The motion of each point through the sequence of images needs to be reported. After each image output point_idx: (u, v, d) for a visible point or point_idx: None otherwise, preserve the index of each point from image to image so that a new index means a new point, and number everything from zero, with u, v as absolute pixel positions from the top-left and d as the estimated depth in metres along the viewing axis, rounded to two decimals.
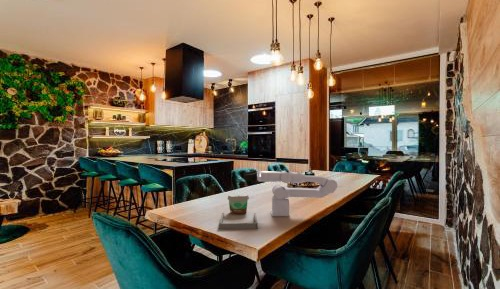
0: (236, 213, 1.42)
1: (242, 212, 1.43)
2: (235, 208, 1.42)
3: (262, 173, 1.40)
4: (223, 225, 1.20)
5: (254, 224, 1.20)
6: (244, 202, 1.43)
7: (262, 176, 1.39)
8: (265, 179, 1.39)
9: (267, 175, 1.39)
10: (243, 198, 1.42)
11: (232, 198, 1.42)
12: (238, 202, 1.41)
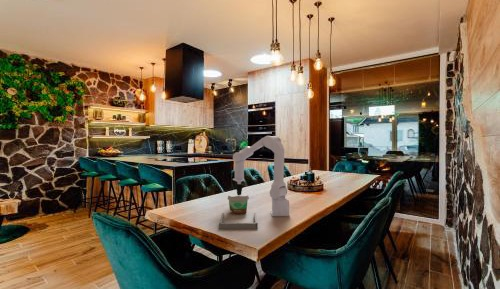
0: (236, 213, 1.42)
1: (242, 212, 1.43)
2: (235, 208, 1.42)
3: (236, 177, 1.56)
4: (223, 225, 1.20)
5: (254, 224, 1.20)
6: (244, 202, 1.43)
7: (238, 177, 1.55)
8: (241, 175, 1.56)
9: (237, 173, 1.56)
10: (243, 198, 1.42)
11: (232, 198, 1.42)
12: (238, 202, 1.41)
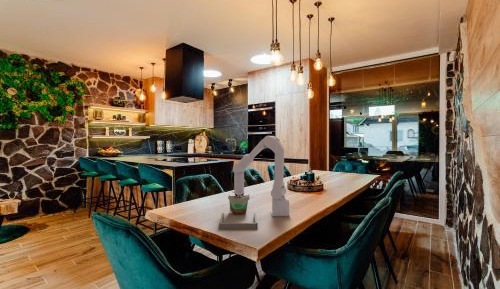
0: (236, 213, 1.42)
1: (242, 212, 1.42)
2: (235, 208, 1.41)
3: (235, 190, 1.49)
4: (223, 225, 1.20)
5: (254, 224, 1.20)
6: (245, 203, 1.41)
7: (238, 190, 1.48)
8: (241, 187, 1.49)
9: (237, 185, 1.48)
10: (244, 200, 1.40)
11: (233, 199, 1.39)
12: (239, 203, 1.40)
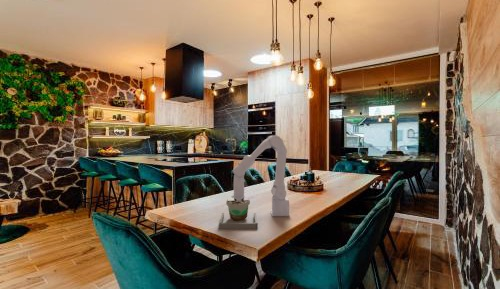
0: (235, 219, 1.31)
1: (241, 218, 1.31)
2: (233, 214, 1.30)
3: (235, 194, 1.37)
4: (223, 225, 1.20)
5: (254, 224, 1.20)
6: (243, 209, 1.30)
7: (238, 195, 1.36)
8: (241, 191, 1.36)
9: (236, 189, 1.36)
10: (242, 206, 1.28)
11: (230, 205, 1.29)
12: (236, 209, 1.29)
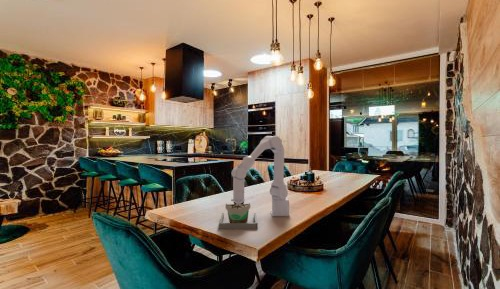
0: None
1: None
2: (233, 219, 1.23)
3: (234, 198, 1.29)
4: (223, 225, 1.20)
5: (254, 224, 1.20)
6: (243, 213, 1.22)
7: (237, 198, 1.29)
8: (241, 194, 1.29)
9: (236, 192, 1.29)
10: (242, 210, 1.20)
11: (229, 209, 1.21)
12: (236, 214, 1.21)
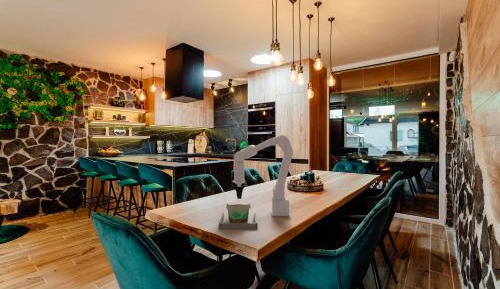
0: None
1: None
2: (233, 218, 1.24)
3: (235, 179, 1.41)
4: (223, 225, 1.20)
5: (254, 224, 1.20)
6: (244, 212, 1.24)
7: (238, 179, 1.41)
8: (241, 176, 1.41)
9: (237, 174, 1.41)
10: (242, 207, 1.23)
11: (230, 207, 1.24)
12: (236, 212, 1.23)
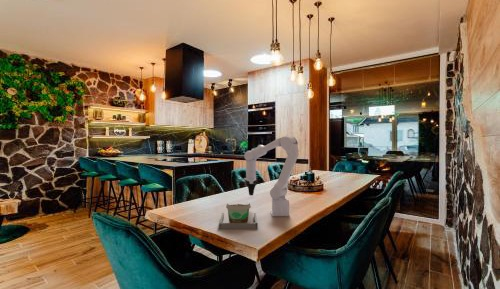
0: None
1: None
2: (233, 218, 1.24)
3: (247, 177, 1.49)
4: (223, 225, 1.20)
5: (254, 224, 1.20)
6: (244, 212, 1.24)
7: (250, 177, 1.49)
8: (253, 174, 1.49)
9: (249, 172, 1.49)
10: (242, 207, 1.23)
11: (230, 207, 1.24)
12: (236, 212, 1.23)
